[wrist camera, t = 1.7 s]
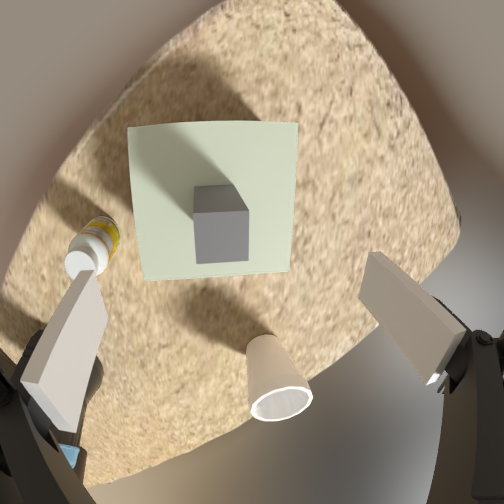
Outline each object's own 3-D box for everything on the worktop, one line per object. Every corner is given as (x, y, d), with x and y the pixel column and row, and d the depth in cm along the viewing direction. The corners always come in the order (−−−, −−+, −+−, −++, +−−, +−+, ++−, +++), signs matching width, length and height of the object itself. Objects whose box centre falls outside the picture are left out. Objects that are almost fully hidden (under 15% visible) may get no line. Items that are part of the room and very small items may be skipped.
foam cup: (230, 361, 49) (241, 420, 37) (247, 323, 45) (265, 384, 34) (277, 366, 51) (295, 420, 40) (297, 331, 48) (323, 387, 37)
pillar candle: (84, 446, 58) (78, 485, 44) (89, 457, 61) (85, 493, 48) (56, 437, 55) (48, 476, 42) (63, 449, 59) (57, 484, 45)
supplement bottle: (109, 208, 33) (84, 236, 25) (128, 242, 36) (110, 278, 27) (79, 225, 33) (50, 256, 25) (98, 257, 36) (76, 295, 27)
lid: (146, 273, 29) (131, 333, 20) (131, 127, 22) (96, 129, 14) (284, 264, 31) (316, 317, 23) (292, 122, 25) (339, 124, 16)
